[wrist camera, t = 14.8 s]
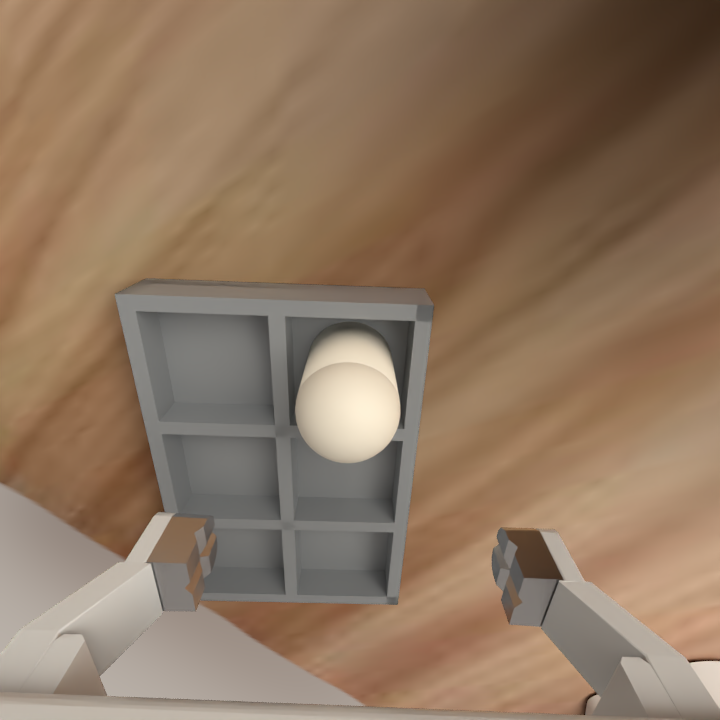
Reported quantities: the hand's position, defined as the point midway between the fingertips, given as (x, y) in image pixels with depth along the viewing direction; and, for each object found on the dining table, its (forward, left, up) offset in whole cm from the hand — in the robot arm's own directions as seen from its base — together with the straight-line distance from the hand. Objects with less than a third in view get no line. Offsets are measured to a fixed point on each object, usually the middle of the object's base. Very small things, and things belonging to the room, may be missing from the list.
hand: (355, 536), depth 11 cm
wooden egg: (0, 0, -12) cm, 12 cm away
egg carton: (-7, +4, -13) cm, 15 cm away
